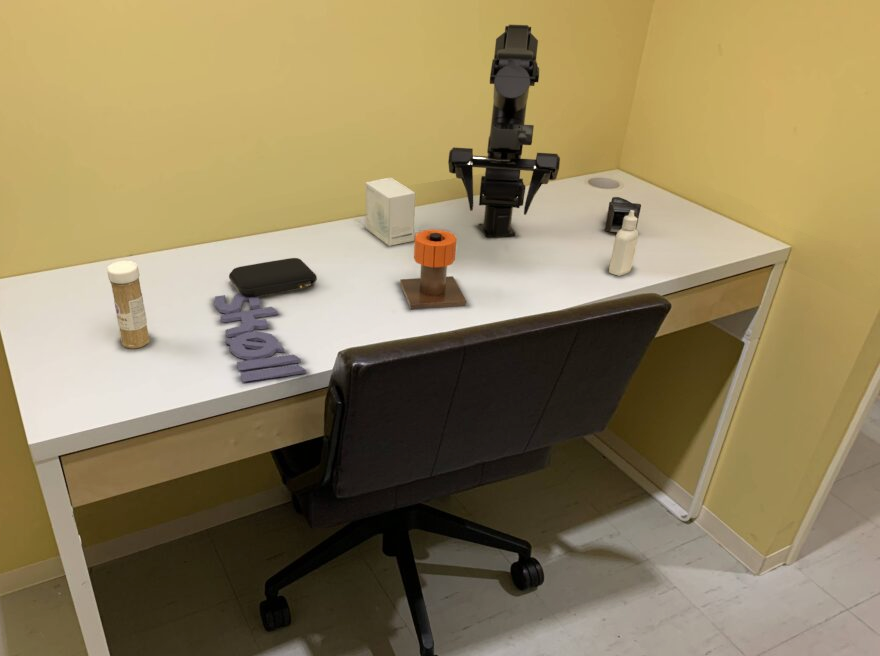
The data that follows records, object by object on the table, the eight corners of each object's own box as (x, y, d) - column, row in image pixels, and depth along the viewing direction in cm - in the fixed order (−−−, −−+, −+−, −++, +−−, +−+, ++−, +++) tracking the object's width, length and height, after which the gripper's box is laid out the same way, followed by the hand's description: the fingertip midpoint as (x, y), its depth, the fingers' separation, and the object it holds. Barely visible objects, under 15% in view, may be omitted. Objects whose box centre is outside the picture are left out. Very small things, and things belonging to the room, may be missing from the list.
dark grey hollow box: (630, 215, 171) (636, 187, 167) (636, 238, 160) (643, 209, 156) (600, 213, 172) (605, 185, 168) (605, 236, 161) (610, 206, 157)
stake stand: (399, 284, 141) (401, 225, 135) (452, 280, 143) (456, 222, 136) (410, 309, 133) (413, 248, 127) (466, 305, 134) (471, 244, 128)
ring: (410, 251, 136) (411, 230, 134) (449, 249, 137) (450, 228, 135) (418, 268, 131) (419, 246, 128) (458, 266, 132) (460, 244, 129)
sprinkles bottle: (115, 343, 123) (100, 266, 115) (139, 332, 126) (125, 257, 118) (132, 352, 121) (118, 275, 113) (156, 341, 123) (143, 265, 116)
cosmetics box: (364, 229, 163) (364, 180, 157) (390, 224, 166) (391, 176, 160) (387, 246, 155) (388, 197, 150) (415, 241, 158) (417, 191, 152)
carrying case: (244, 305, 133) (322, 290, 139) (243, 289, 132) (322, 275, 137) (226, 281, 141) (301, 268, 147) (225, 266, 140) (300, 253, 145)
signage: (211, 296, 135) (266, 288, 138) (211, 299, 135) (267, 292, 138) (239, 380, 113) (305, 369, 115) (240, 384, 113) (305, 373, 116)
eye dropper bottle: (639, 273, 146) (652, 213, 139) (614, 277, 144) (626, 216, 138) (625, 264, 149) (638, 205, 143) (600, 268, 148) (612, 208, 141)
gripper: (452, 101, 126) (442, 193, 125) (567, 107, 124) (558, 201, 123) (454, 128, 137) (444, 213, 136) (560, 134, 135) (551, 221, 134)
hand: (498, 212), depth 132 cm, fingers open, 9 cm apart
